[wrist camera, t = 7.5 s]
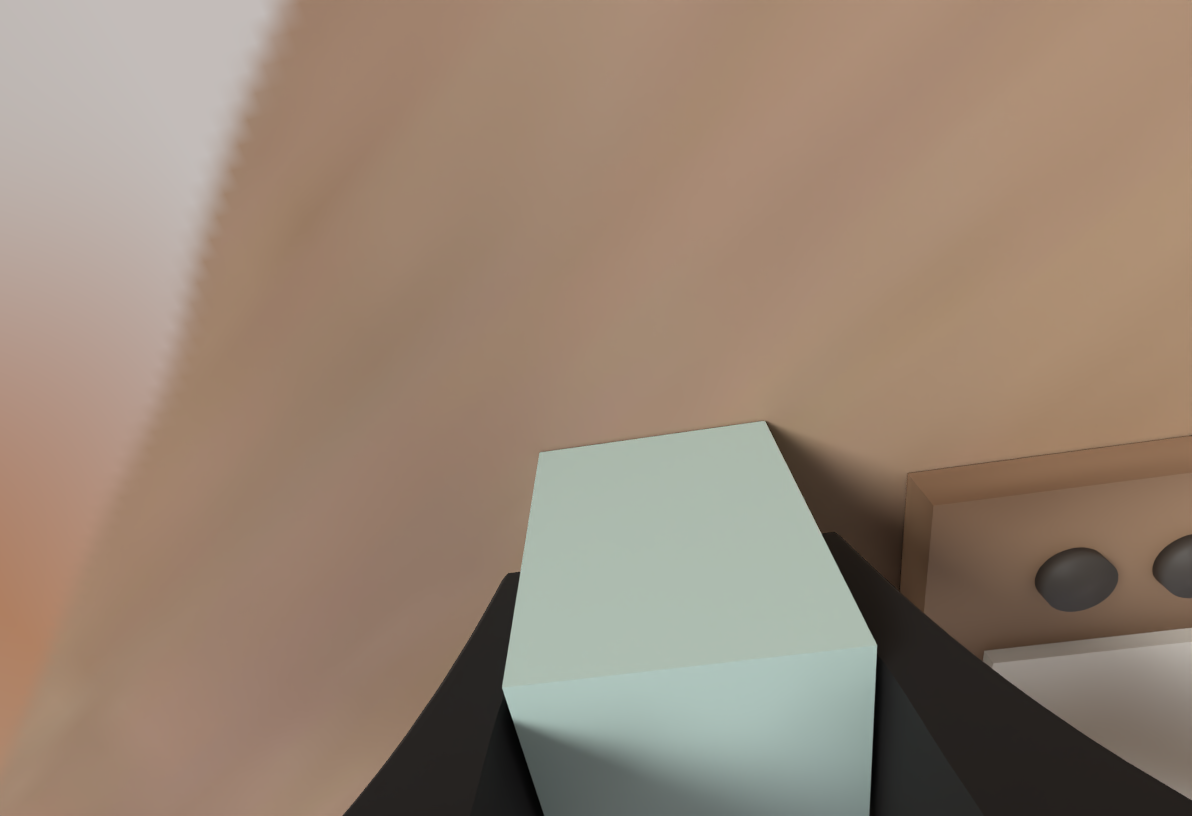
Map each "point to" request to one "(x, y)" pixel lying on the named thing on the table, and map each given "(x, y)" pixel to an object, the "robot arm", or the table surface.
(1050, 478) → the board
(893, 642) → the robot arm
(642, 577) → the sage block
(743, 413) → the table surface
